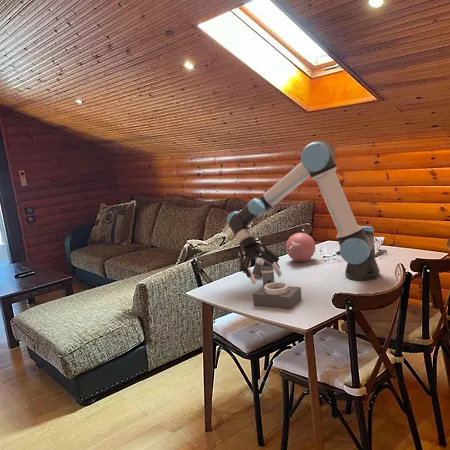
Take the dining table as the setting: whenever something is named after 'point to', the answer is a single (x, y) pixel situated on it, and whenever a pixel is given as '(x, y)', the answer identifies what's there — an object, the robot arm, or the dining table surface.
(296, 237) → the pink star-marked ball
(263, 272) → the lens
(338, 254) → the picture frame
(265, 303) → the grey block socket
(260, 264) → the camera
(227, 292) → the dining table surface
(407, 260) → the dining table surface
